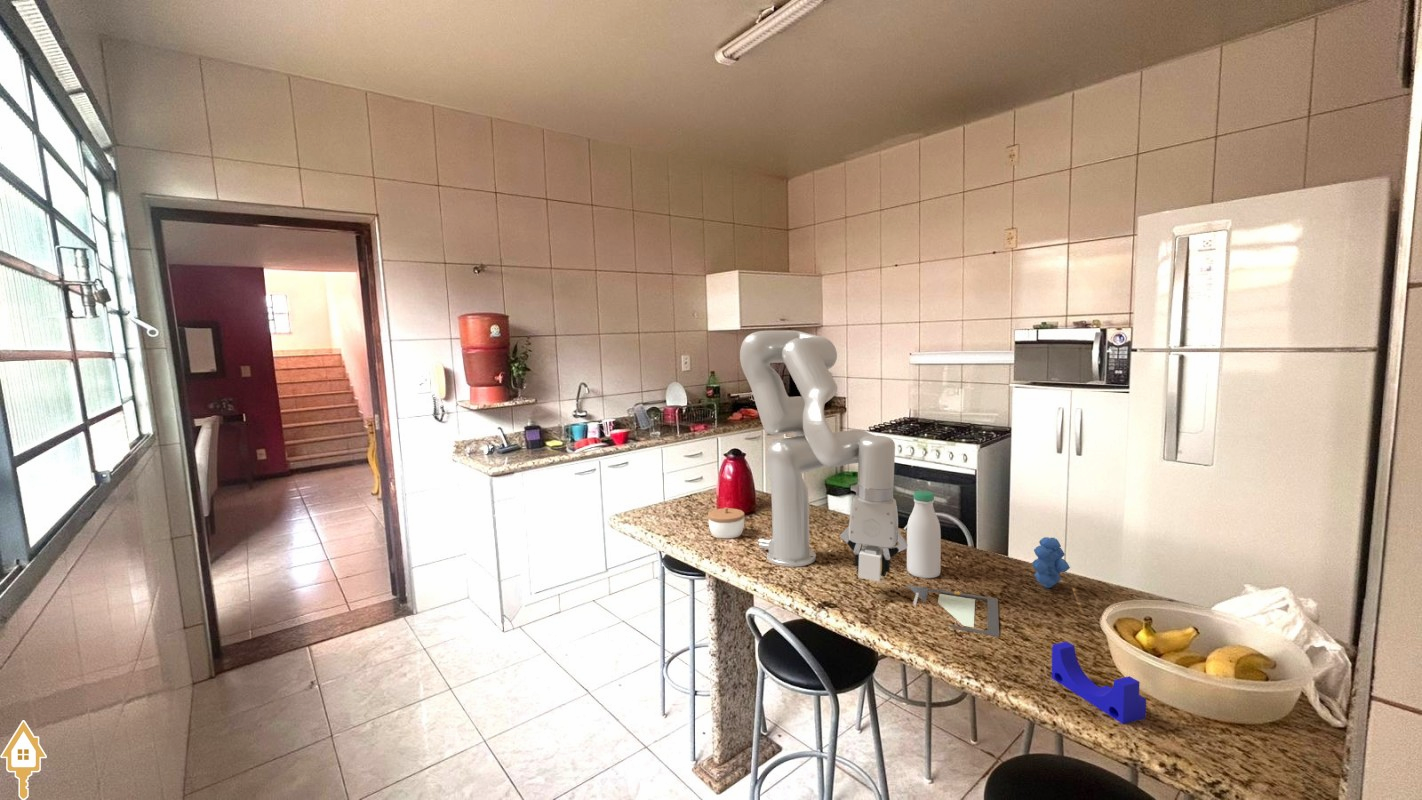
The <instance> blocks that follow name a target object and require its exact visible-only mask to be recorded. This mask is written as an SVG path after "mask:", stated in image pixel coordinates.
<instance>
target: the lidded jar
mask: <svg viewBox="0 0 1422 800" xmlns="http://www.w3.org/2000/svg"><path fill="white" fill-rule="evenodd" d="M707 519H708V526H709V531H710V533H711V535H712V536H714V537H716V538H719V539H734V538H738V537H740V536H741V535H742V533H743V531H744V527H745V512H744V511H743V510H741V509H738V508H729V507H723V508H717V509H714V510H713V509H712V510H711V511H709V512H708V514H707Z"/></svg>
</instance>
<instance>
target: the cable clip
mask: <svg viewBox="0 0 1422 800" xmlns="http://www.w3.org/2000/svg"><path fill="white" fill-rule="evenodd" d="M1051 646H1052V648H1051V653H1052V654H1051V679H1052V680H1054V681H1056V682H1057V683H1058V684H1061V685H1062V686H1064V687H1065V688H1066V689H1068V690H1070V691H1071V692H1073V693H1075V694H1076V695H1077V696H1078V697H1080V698H1082V699H1083V700H1085V701H1086V702H1088V703H1089V704H1091V705H1093V706H1094V707H1096V708H1097V709H1099V710H1100V711H1102V712H1103V713H1105V714H1107V715H1108V716H1110V717H1111V718H1113V719H1114V720H1116V721H1117V722H1119V723H1121V724H1122V725H1125V724H1128V723H1132V722H1136V721H1140V720H1143V719H1146V714H1147V712H1146V711H1147V698H1145V697H1143V696H1142V695H1140V683H1141V682H1140V681H1139V680H1137V679H1135V678H1134V677H1132V676H1128V675H1127V676H1125V677H1121V678H1117V679H1114V680H1113V686H1112V687H1110V686H1108V685H1105V686H1102V687H1100V686H1098V685H1097V684H1095V683H1094V682H1093V681H1092V680H1091V679H1090V678H1089V677H1088V675H1086V673H1085V672H1084V671H1083V668H1082V667H1081V665H1080V664H1079V661H1078V658H1077V655H1076V647H1075V646H1076V645H1075V644H1074V645H1073V644H1072V643H1070V642H1068V641H1063V642H1059V643H1054V644H1052V645H1051Z"/></svg>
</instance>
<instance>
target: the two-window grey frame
mask: <svg viewBox="0 0 1422 800" xmlns="http://www.w3.org/2000/svg"><path fill="white" fill-rule="evenodd" d="M879 583H883V584H886V580H883V579H880V581H879ZM906 586H907V588H909V589H910V590H911V591H912V592H913V593H914V594H915V596H914V599H913V602H912V604H913V605H914V606H915V607H916V606H917V603H918V598H919V599H920V600H922V601H923V603H926V602H927V601H926V600H927V597H928V593H929V592H933V593H934V592H935V593H939V594H944V595H951V596H957V597H964V598H970V599H975V600H977V599H978V600H981V601H982V600H984V601H987V611H986V612H987V616H986V617H987V619H986V620H987V622H986V623H987V625H986V626H987V627H986V628H987V630H981V629H977V628H976V629H975V628H972V627H966V626H965V627H964V626H958V625H955V624H954V625H952V624H948V626H949V627H950V628H953V629H956V630H957V629H958V630H963V631H967V632H972V633H977V634H983V635H986V636H992V637H996V638H1000V623H999V622H1000V621H999V599H998V598H996V597H990V596H983V595H976V594H971V593H970V594H969V593H963V592H961V591H957V590H956V591H948V590H943V589H938V588H937V589H936V588H930V587H929V588H928V587H924V586H923V587H922V586H916V585H915V586H914V585H910V584H906Z"/></svg>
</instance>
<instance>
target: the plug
mask: <svg viewBox="0 0 1422 800" xmlns="http://www.w3.org/2000/svg"><path fill="white" fill-rule="evenodd" d="M883 556H884V552H883V548H882V547H875V546H869V545H862V548H861V551H860V553H859V568H858V572H857V577H858V579H863V580H868V581H874V582H879V583H880V581H881V580H882V576H881V572H882V559H883Z"/></svg>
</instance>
